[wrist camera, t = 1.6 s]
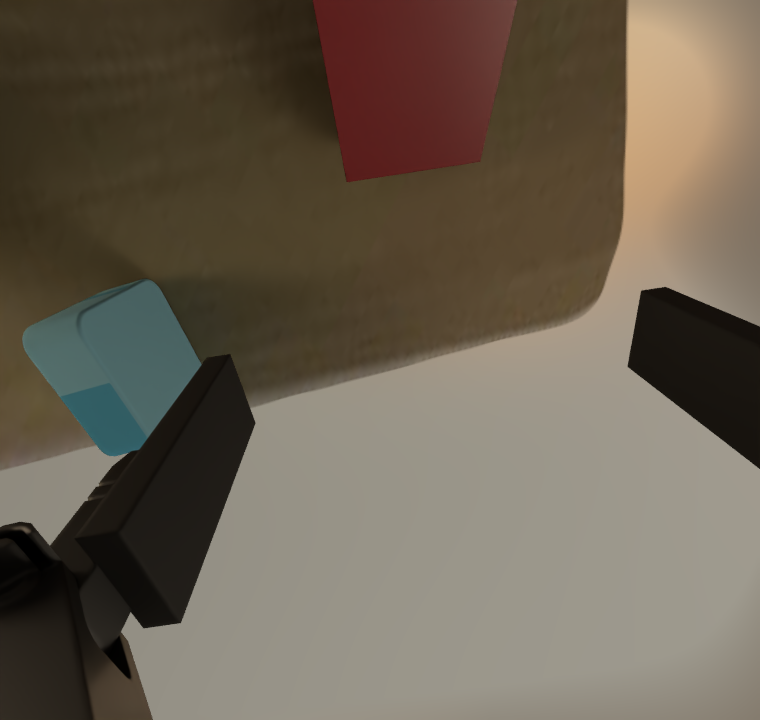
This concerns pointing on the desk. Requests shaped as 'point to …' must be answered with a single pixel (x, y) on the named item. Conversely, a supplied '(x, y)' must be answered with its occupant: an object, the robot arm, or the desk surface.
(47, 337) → the data package
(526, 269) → the desk surface
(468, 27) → the book
